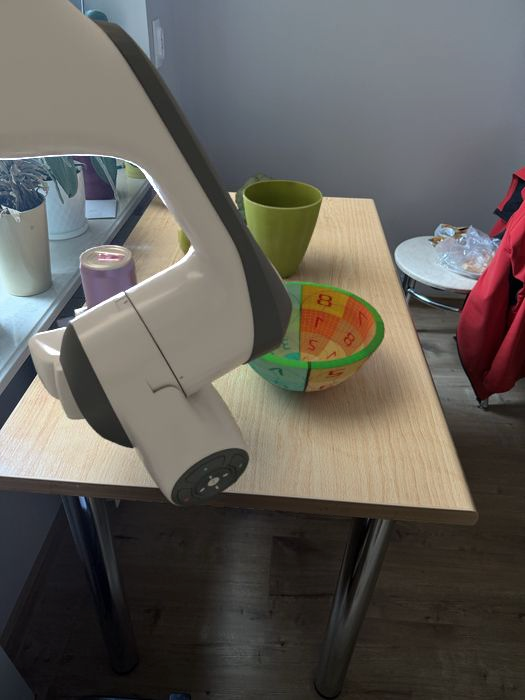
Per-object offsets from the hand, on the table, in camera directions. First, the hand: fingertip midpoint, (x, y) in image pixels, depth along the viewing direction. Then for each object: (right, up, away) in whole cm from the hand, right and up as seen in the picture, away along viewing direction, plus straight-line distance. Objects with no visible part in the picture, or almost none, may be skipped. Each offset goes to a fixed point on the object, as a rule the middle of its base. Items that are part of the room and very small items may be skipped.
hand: (112, 306), depth 63 cm
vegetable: (+17, +26, +65) cm, 72 cm away
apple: (+5, +14, +48) cm, 50 cm away
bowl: (+24, -9, +18) cm, 31 cm away
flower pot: (+21, +11, +45) cm, 51 cm away
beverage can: (0, -7, +4) cm, 8 cm away
